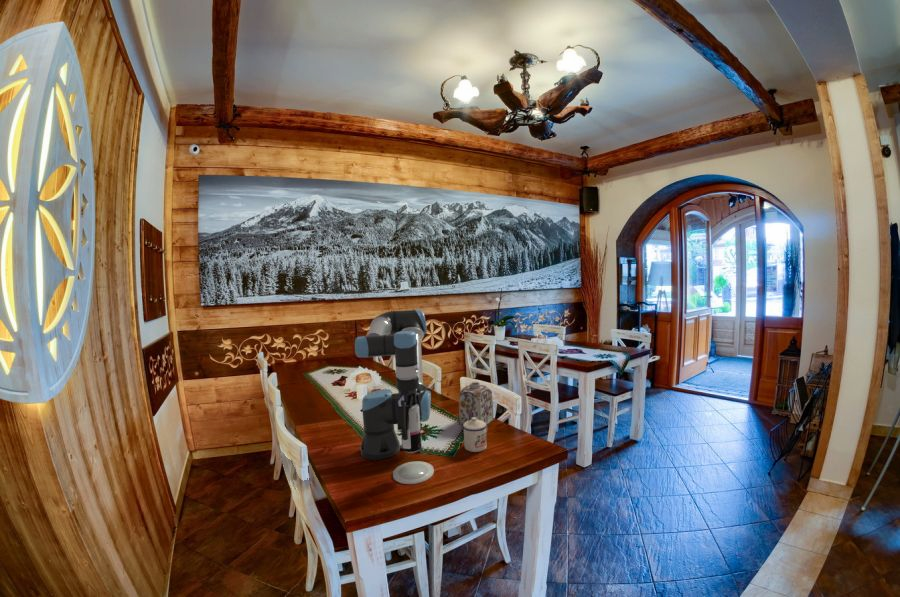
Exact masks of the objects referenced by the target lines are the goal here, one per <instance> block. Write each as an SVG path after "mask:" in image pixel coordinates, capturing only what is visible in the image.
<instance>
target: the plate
mask: <svg viewBox="0 0 900 597" xmlns="http://www.w3.org/2000/svg"><path fill="white" fill-rule="evenodd" d="M434 473H435V470H434V466H433V465H432V464H430V463H428V462H427V461H426V462H425V461H420V460H418V461H417V460H416V461H414V460H413V461H408V462H405V463H402V464H400V465H398V466H396V468H395V469H394V470H393V472H392V478H393V480H394V481H396V482H398V483H400V484H403V485H417V484H421V483H423V482H425V481H427V480H430V479H431V478H432V477H433V476H434Z"/></svg>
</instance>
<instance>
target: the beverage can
mask: <svg viewBox="0 0 900 597" xmlns="http://www.w3.org/2000/svg"><path fill="white" fill-rule="evenodd" d="M405 406H407V405H405ZM408 429H410V439H411V449H405V448H403V444H402V443H401V446H402V447H401V448H402V451H403V452H404V453H407V454H410V453H411V454H414V453H417V452H419V451H421V449H422V433H421V432H422V430H421V422H420V414H419V406H418V404H416V405H412V407H411V409H409V427H408ZM400 431H401V432H400V433H401V437H402V430H400Z"/></svg>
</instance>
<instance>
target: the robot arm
mask: <svg viewBox="0 0 900 597" xmlns="http://www.w3.org/2000/svg"><path fill="white" fill-rule="evenodd" d="M369 325H370V326H369V331H368V332H367V334H366V335H363V336H357V337H356V338H355V341H354V353H355V356H356V357H357V358H366V359H367V358H375V357H376V358H377V357H386V356H390V357H391V356H394V359H395V360H394V361H395V378H396V390H397V391H398V393H397V392H396V393H395V392H394V393H393V391H392V389H389V388H385V389H384V388H382V389H378V390H375V391H371V392H369V393H367V394H365V395H364V396H363V398H362V400H361V401H362V402H361V403H362V404H361V405H362V406H361V410H362V422H363V437H362V440H361V445H360V455H361V457H362V458H363V459H366V460H370V461H372V460H373V461H378V460H379V461H380V460H385V459H388V458H391V457H392V458H393V457H394V456H396V455H397V454H398V453H399V452H400V450H401V445H402V444H403V448H405V449H411V439H410V429H408V427H409V409H411V407H412V405H416V404H418V406H419V414H420V423H423V422H427V421H429V419H430V414H431V407H432V406H431V405H432V403H431V402H432V400H431V398H432V394H431V393H432V392H431V391H430V390H428V388H427V386H426V385H425V384H424V380H423V379H424V375H423V374H424V372H423V356H422V355H423V354H422V339H424V337H425V335H426V334H427V331H428V328H427V323H426V316H425V313H424V311H423V310H422V309H408V310H407V309H405V310H389V311H386V312H383V313H381V314H379V315H378V316H376V317H375V318H374V319H372V321H371V322H370V324H369ZM405 405H407V406H405ZM395 425H397V431H401V430H402V436H401V445H400V440H399V438H398V435H397V433H396V430H395Z"/></svg>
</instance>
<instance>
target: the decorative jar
mask: <svg viewBox="0 0 900 597" xmlns="http://www.w3.org/2000/svg"><path fill="white" fill-rule="evenodd" d="M493 400H494V399H493V392H492V391H491V389H490V388H489V387H487V386H486V385H485V384H481V383H480V382H477V381H473V382H470V383H469V385H465V386H464V387H463V388H461V390H460V392H459V394H458V412H459V414H458V415H459V416H458V417H459V424H460V425H463V424H464V423H465V422H467V421H470V420H472V418H473V417H476V418H477V420H481V421H483V422H485V424H486V425H487V426H488V425H489V424H490V423H491V422H493V421H494V401H493Z"/></svg>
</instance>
